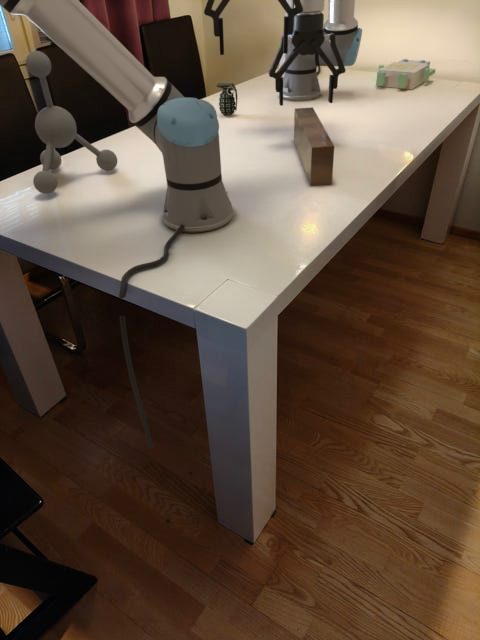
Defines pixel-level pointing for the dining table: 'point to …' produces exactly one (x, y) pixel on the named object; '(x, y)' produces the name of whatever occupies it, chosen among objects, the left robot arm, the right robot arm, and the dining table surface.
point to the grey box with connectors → (404, 74)
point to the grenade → (227, 99)
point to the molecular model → (57, 130)
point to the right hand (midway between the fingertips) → (305, 103)
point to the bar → (313, 146)
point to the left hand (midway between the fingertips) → (253, 53)
